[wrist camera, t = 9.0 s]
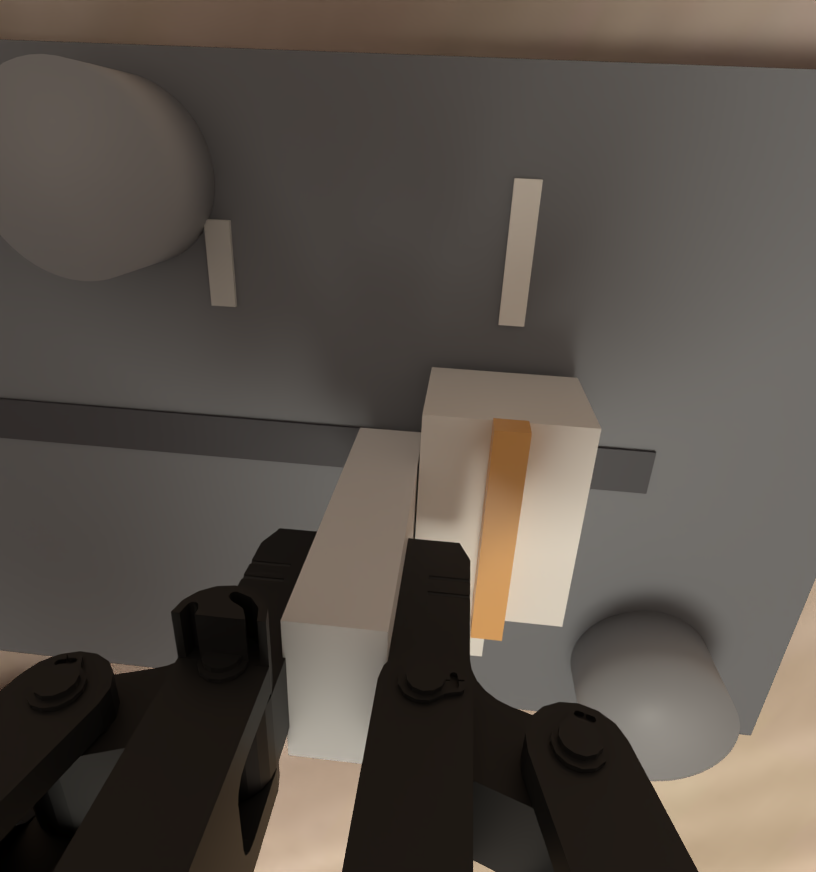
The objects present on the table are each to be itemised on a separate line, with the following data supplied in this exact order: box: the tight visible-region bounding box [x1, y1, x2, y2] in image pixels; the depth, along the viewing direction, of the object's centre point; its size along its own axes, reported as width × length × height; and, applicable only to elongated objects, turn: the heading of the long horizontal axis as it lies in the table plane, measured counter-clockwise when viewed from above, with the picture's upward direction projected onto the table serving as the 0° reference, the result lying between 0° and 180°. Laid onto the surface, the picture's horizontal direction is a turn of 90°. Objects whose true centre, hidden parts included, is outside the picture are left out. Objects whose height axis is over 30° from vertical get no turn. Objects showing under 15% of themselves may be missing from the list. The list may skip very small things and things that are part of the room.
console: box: [0, 40, 816, 781], centre depth 16 cm, size 30×18×4 cm, turn 87°
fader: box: [415, 367, 601, 641], centre depth 14 cm, size 4×5×4 cm
